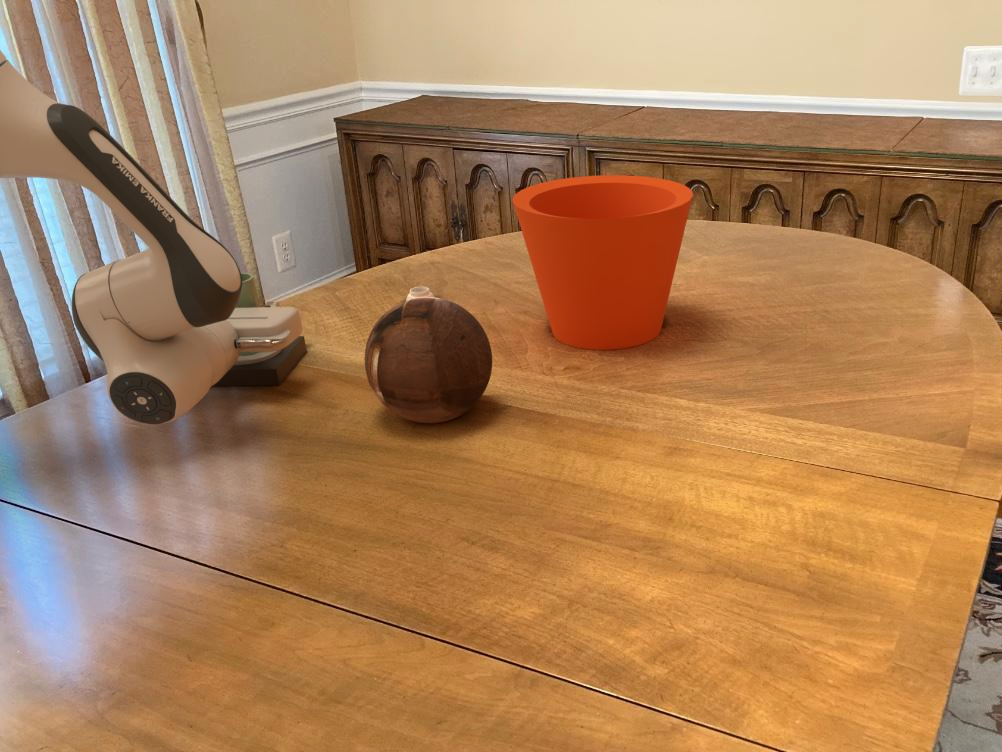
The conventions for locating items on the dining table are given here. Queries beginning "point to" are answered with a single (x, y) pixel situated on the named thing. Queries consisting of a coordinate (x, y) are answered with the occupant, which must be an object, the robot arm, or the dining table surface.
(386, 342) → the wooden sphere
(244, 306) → the cup
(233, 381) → the scale
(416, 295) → the lidless jar
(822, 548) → the dining table surface
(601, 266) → the flowerpot
